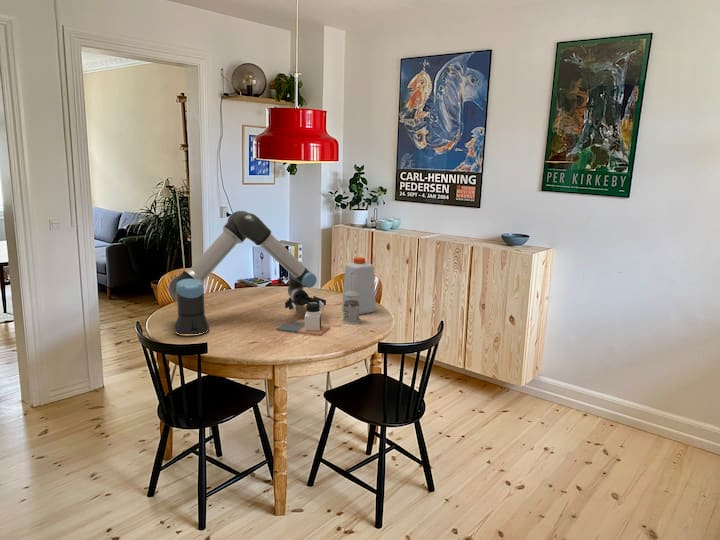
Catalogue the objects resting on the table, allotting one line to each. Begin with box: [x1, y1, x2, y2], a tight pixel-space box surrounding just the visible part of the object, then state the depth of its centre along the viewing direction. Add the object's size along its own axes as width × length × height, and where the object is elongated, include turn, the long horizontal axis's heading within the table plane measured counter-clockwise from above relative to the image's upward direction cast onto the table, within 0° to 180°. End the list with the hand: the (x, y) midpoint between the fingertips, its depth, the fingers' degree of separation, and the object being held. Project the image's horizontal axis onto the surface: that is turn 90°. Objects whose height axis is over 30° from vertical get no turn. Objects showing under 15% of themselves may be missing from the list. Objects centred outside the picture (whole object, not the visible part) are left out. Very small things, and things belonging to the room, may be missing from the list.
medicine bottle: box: [304, 303, 322, 331], centre depth 252 cm, size 7×7×12 cm
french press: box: [341, 271, 362, 325], centre depth 267 cm, size 10×12×25 cm
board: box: [275, 320, 331, 337], centre depth 255 cm, size 12×22×1 cm, turn 71°
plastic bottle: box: [341, 256, 377, 315], centre depth 283 cm, size 15×15×28 cm
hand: (309, 308), depth 259 cm, fingers open, 13 cm apart
